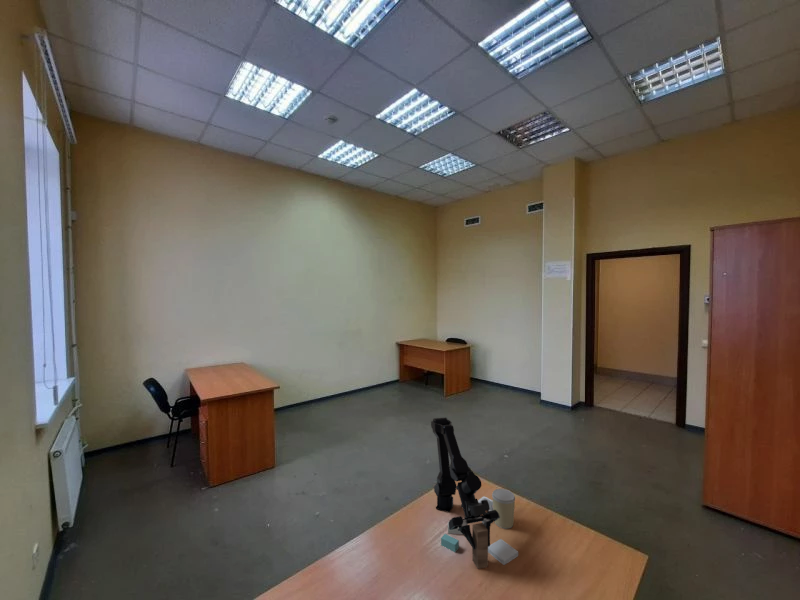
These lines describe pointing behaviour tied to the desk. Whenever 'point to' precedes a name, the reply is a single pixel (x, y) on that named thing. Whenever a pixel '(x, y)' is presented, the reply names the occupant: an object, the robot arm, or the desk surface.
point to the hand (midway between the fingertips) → (482, 547)
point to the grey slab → (502, 551)
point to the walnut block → (480, 545)
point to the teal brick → (450, 542)
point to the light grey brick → (454, 531)
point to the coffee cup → (504, 507)
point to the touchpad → (488, 502)
